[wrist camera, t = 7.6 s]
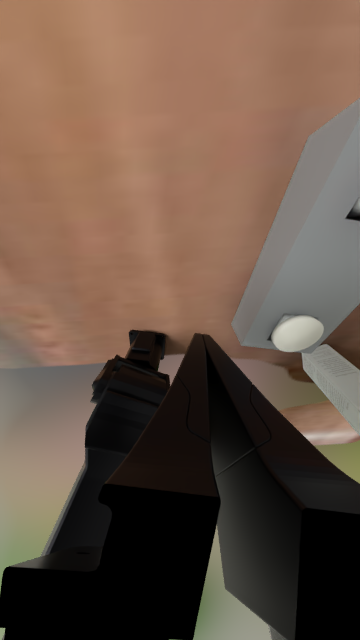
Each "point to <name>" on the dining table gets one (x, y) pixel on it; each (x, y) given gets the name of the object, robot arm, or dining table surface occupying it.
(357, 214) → the red plunger
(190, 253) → the dining table surface
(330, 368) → the skincare box
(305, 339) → the white plunger
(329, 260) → the block
